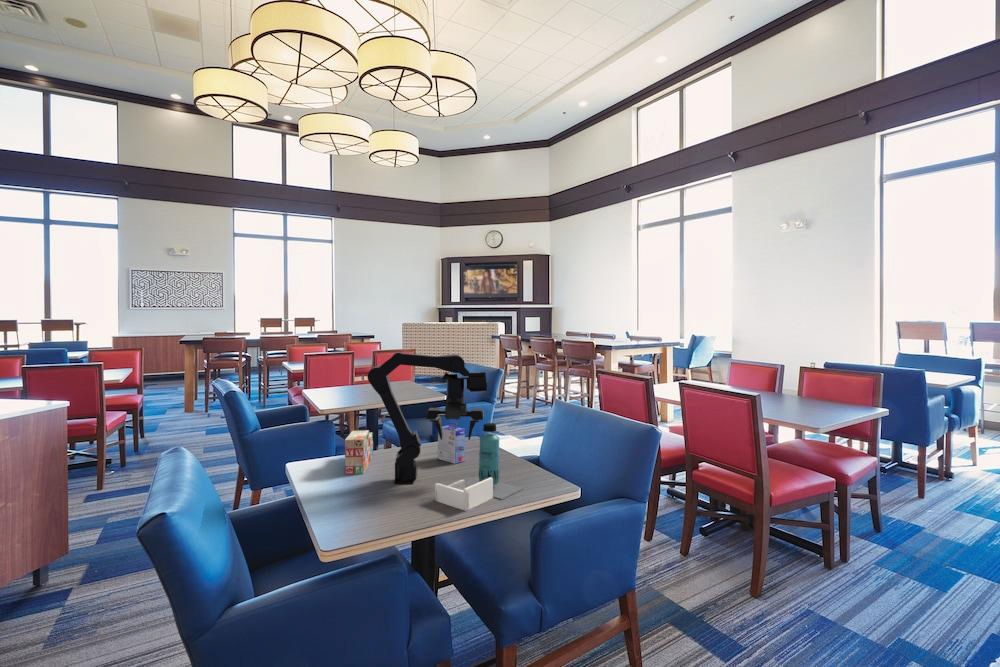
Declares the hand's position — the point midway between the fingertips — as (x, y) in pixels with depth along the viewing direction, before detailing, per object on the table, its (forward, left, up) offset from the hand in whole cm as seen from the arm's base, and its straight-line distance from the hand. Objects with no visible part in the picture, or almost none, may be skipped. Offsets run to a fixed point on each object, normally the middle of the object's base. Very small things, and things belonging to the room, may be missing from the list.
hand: (455, 439), depth 156 cm
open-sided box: (+5, -18, -13) cm, 23 cm away
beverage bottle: (+12, -8, -13) cm, 19 cm away
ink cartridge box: (-4, +20, -13) cm, 24 cm away
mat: (+12, -8, -13) cm, 19 cm away
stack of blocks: (-36, +13, -13) cm, 41 cm away
